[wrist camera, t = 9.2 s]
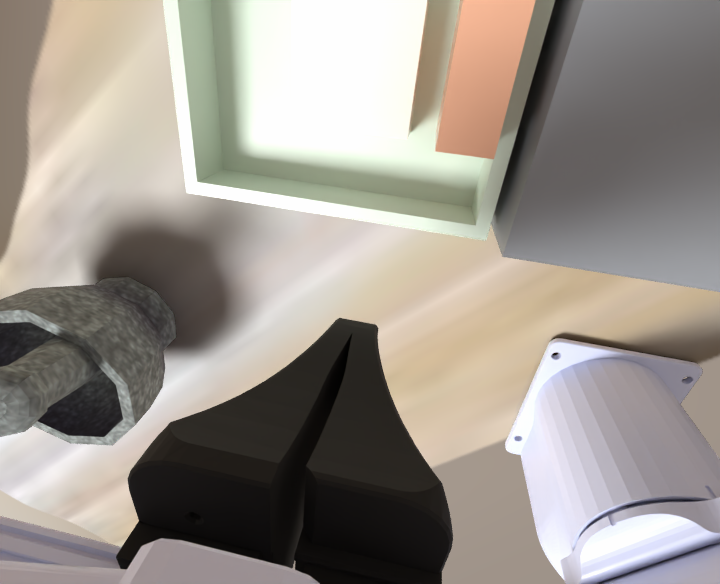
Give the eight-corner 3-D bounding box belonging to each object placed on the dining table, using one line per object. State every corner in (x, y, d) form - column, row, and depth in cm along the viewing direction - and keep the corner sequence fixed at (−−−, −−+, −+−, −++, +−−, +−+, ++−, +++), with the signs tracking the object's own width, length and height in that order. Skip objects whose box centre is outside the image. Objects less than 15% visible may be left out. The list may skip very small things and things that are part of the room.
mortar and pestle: (156, 389, 31) (14, 551, 20) (50, 308, 28) (-172, 445, 18) (238, 312, 25) (102, 478, 15) (115, 207, 23) (-142, 318, 13)
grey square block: (746, 259, 19) (827, 309, 15) (489, 219, 20) (502, 256, 16) (973, -79, 13) (1210, -145, 9) (582, -108, 14) (639, -177, 10)
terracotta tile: (494, 159, 13) (434, 151, 14) (480, 137, 18) (435, 131, 18) (542, -28, 11) (469, -34, 11) (513, -1, 15) (460, -6, 15)
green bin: (480, 218, 20) (486, 240, 17) (216, 177, 21) (186, 192, 19) (568, -109, 14) (598, -150, 11) (191, -137, 15) (140, -179, 12)
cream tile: (291, 125, 17) (304, 119, 19) (407, 139, 16) (410, 133, 18) (291, -23, 14) (307, -13, 16) (428, -11, 14) (429, -2, 16)
